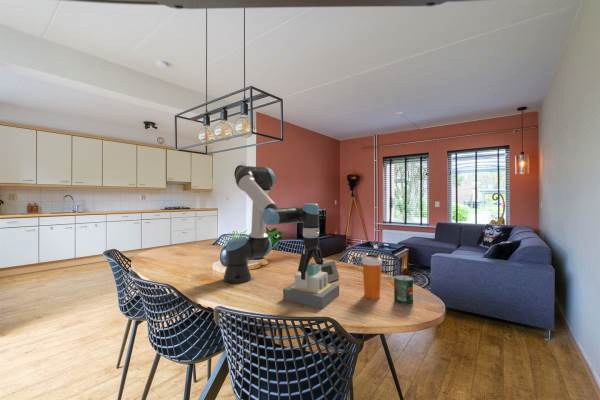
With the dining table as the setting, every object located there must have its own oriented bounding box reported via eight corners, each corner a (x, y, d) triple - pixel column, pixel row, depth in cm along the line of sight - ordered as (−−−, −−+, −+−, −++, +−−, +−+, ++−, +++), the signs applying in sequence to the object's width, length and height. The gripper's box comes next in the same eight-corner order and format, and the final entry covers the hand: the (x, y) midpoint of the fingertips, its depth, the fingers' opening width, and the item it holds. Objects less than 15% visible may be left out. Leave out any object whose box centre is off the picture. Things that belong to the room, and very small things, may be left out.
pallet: (294, 287, 125) (294, 274, 125) (305, 281, 134) (305, 269, 134) (317, 291, 119) (317, 278, 119) (327, 285, 128) (327, 272, 128)
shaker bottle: (378, 301, 121) (378, 256, 120) (359, 297, 126) (359, 254, 125) (384, 295, 128) (384, 253, 128) (365, 291, 133) (365, 251, 133)
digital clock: (319, 286, 142) (319, 266, 141) (310, 281, 149) (309, 262, 149) (343, 281, 150) (343, 261, 150) (333, 276, 158) (333, 258, 158)
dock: (283, 299, 124) (283, 288, 124) (303, 287, 139) (302, 277, 139) (322, 308, 114) (322, 296, 114) (339, 295, 129) (339, 284, 129)
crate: (304, 273, 126) (303, 265, 126) (309, 271, 130) (309, 263, 130) (313, 275, 123) (313, 266, 123) (318, 272, 127) (318, 264, 127)
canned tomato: (392, 298, 124) (392, 274, 124) (410, 298, 123) (409, 274, 123) (396, 305, 116) (396, 280, 116) (415, 306, 115) (415, 280, 115)
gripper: (304, 241, 113) (305, 291, 114) (329, 233, 135) (330, 276, 135) (289, 240, 117) (290, 288, 118) (316, 232, 139) (316, 273, 139)
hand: (311, 282), depth 126 cm, fingers open, 13 cm apart
